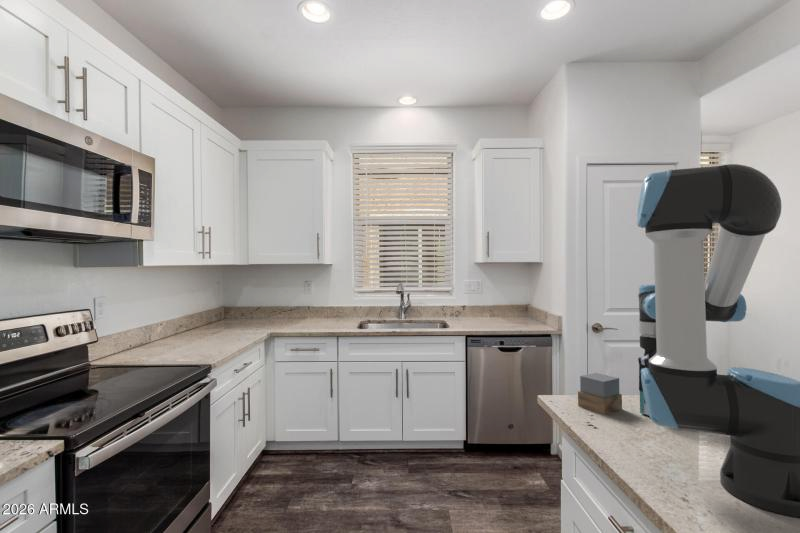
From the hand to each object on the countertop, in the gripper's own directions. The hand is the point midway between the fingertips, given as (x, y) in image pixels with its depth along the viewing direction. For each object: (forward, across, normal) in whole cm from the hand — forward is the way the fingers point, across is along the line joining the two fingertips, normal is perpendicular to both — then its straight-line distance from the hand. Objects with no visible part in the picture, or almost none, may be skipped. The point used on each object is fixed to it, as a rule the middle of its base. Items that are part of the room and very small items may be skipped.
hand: (656, 412), depth 118 cm
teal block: (0, 0, 0) cm, 0 cm away
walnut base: (+1, -8, +13) cm, 15 cm away
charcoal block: (-4, -8, +13) cm, 15 cm away
